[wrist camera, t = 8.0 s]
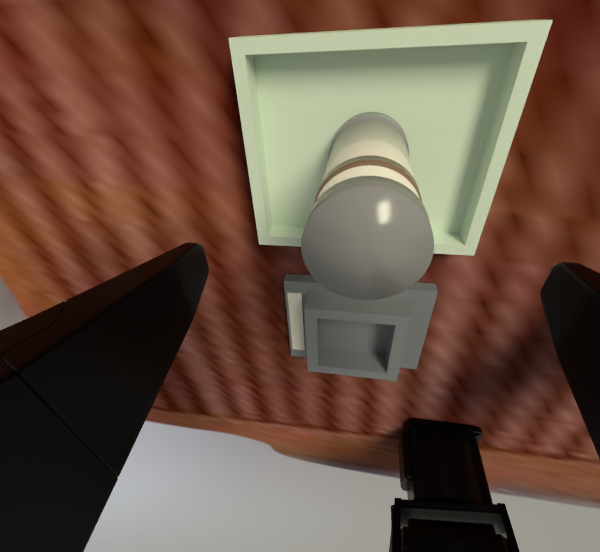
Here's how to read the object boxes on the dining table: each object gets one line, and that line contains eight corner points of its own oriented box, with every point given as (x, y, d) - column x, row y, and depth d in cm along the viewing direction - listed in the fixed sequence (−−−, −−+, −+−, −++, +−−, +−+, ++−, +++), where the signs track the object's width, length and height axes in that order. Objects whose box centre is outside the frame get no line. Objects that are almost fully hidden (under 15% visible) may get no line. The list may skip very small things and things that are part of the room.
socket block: (435, 283, 21) (442, 311, 19) (415, 360, 26) (419, 389, 24) (285, 273, 23) (277, 298, 21) (292, 348, 28) (286, 374, 26)
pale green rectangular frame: (533, 19, 13) (552, 20, 11) (466, 237, 19) (473, 255, 18) (242, 36, 15) (228, 37, 13) (266, 229, 21) (259, 244, 20)
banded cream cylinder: (413, 111, 15) (448, 192, 8) (401, 189, 17) (420, 304, 10) (330, 112, 16) (297, 188, 9) (330, 187, 18) (303, 295, 11)
